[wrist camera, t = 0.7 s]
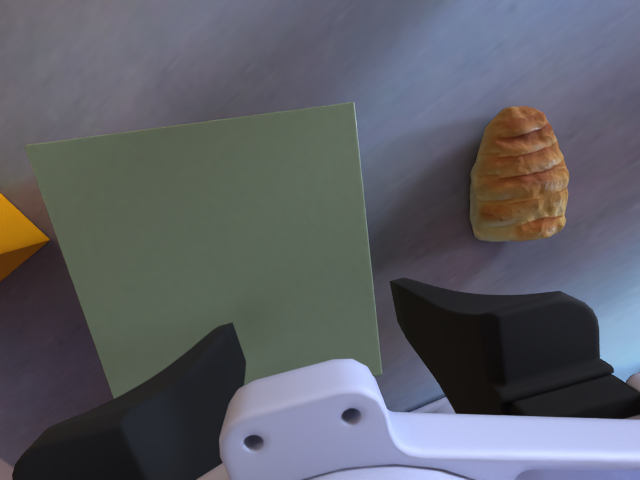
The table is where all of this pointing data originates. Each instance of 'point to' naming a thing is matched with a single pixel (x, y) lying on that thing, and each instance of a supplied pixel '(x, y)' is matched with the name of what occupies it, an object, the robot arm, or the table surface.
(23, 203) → the table surface
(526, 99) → the table surface
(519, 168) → the pastry
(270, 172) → the cabinet
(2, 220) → the orange juice
